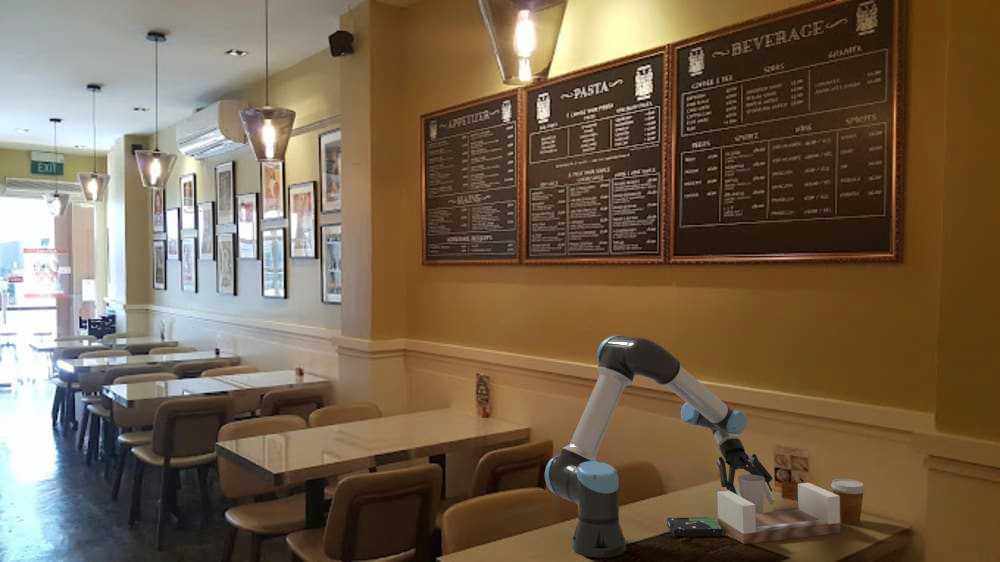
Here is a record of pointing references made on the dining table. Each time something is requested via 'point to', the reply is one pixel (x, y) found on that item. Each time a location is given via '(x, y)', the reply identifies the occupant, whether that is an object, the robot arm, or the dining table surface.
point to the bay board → (782, 527)
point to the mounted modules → (809, 501)
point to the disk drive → (694, 526)
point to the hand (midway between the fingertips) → (757, 504)
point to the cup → (752, 490)
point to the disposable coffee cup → (849, 499)
